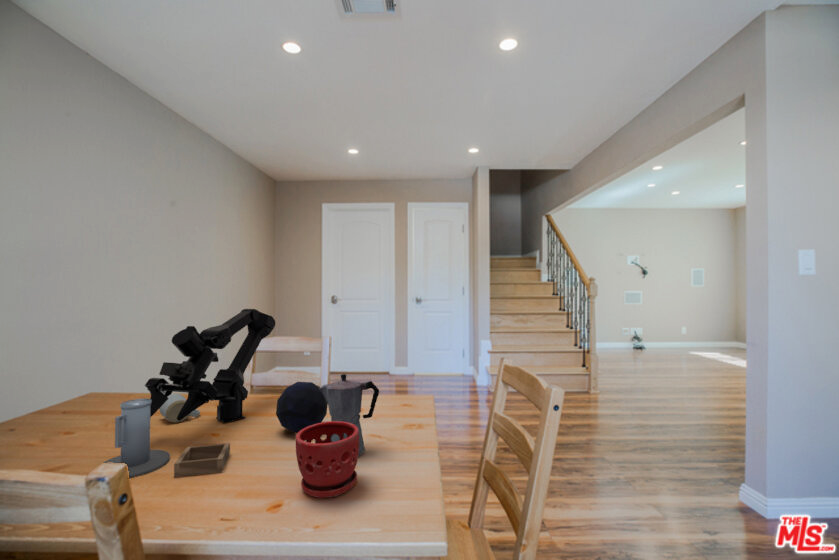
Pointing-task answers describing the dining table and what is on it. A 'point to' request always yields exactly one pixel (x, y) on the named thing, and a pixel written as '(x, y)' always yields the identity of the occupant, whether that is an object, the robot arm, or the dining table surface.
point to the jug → (133, 431)
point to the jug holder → (202, 460)
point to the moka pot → (348, 403)
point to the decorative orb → (301, 406)
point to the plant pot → (327, 458)
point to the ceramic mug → (175, 408)
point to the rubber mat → (146, 463)
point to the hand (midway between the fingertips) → (162, 418)
